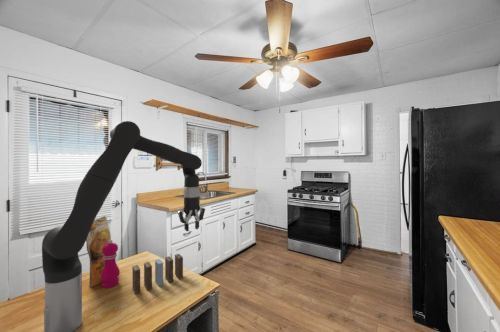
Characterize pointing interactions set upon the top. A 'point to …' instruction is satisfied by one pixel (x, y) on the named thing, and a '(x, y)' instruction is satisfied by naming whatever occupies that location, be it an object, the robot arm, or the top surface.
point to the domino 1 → (136, 279)
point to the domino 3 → (159, 272)
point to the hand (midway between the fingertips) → (191, 229)
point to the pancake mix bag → (97, 248)
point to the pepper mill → (110, 265)
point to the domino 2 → (148, 276)
